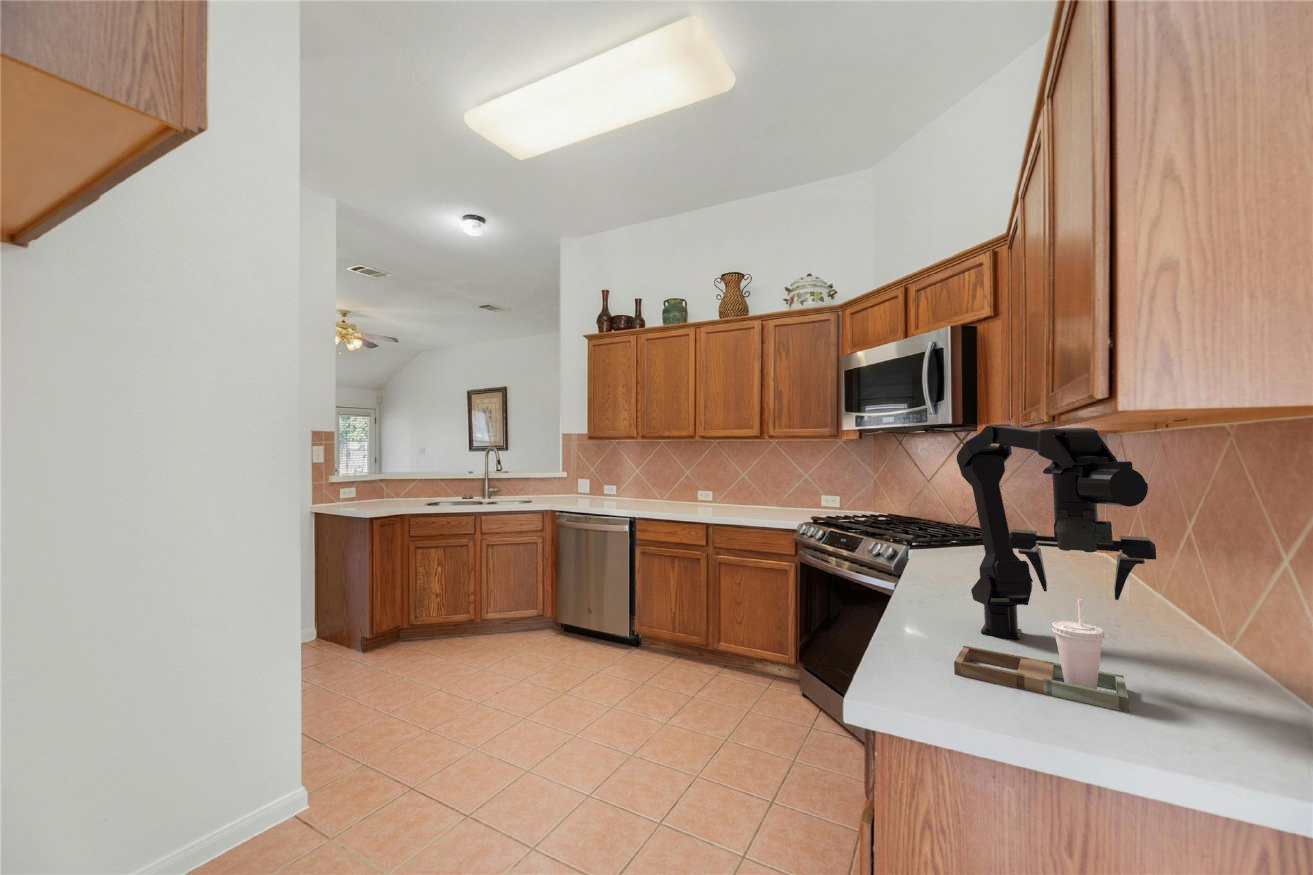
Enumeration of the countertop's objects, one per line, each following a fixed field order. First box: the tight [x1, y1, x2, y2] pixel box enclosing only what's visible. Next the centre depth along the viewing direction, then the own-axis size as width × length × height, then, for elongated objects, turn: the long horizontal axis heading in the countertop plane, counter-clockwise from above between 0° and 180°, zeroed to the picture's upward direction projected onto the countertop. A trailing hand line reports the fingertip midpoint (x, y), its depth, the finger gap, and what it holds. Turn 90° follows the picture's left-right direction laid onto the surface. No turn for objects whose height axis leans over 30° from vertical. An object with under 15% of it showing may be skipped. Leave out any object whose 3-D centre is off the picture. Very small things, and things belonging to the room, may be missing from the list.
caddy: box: [953, 645, 1130, 713], centre depth 83 cm, size 10×22×2 cm, turn 51°
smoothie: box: [1051, 598, 1106, 689], centre depth 80 cm, size 6×6×14 cm
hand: (1079, 595), depth 86 cm, fingers open, 9 cm apart
